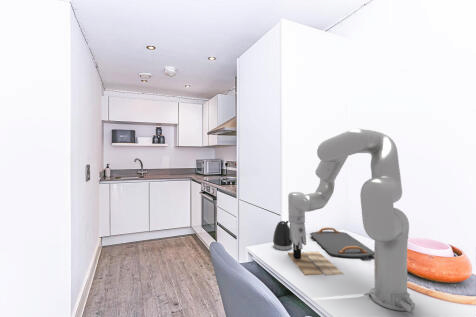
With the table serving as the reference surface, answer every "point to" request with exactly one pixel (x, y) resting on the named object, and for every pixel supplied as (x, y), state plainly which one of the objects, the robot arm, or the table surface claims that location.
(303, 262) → the plank
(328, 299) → the table surface
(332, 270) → the laid boards
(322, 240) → the serving board
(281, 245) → the pump dispenser
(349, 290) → the table surface
